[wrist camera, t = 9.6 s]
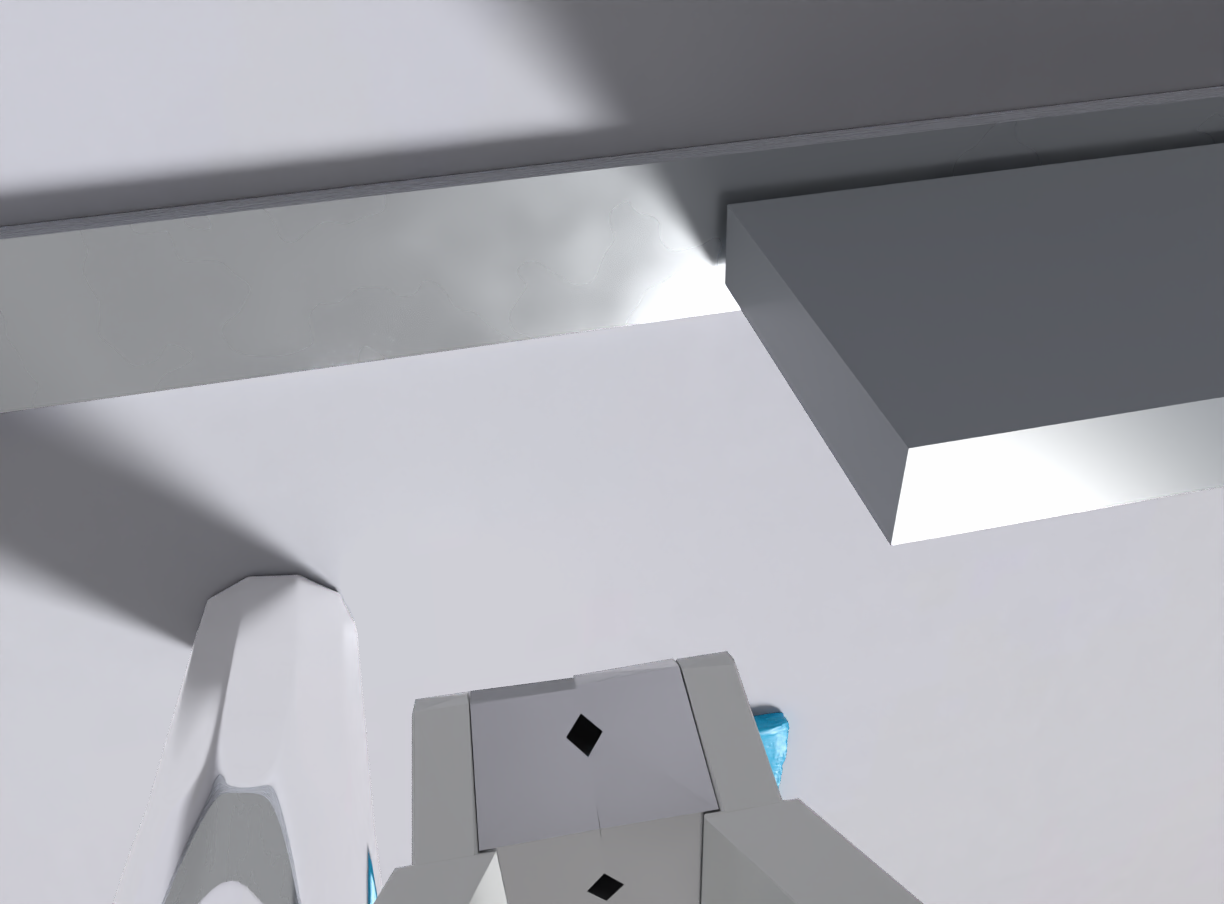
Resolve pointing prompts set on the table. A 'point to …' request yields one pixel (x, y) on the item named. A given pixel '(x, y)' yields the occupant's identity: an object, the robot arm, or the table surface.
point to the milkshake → (263, 760)
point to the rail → (471, 250)
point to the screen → (1001, 334)
